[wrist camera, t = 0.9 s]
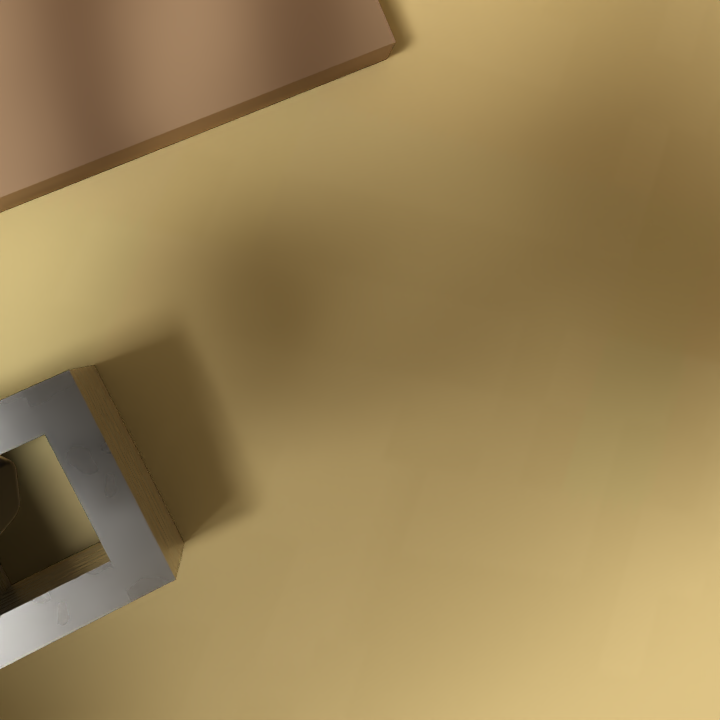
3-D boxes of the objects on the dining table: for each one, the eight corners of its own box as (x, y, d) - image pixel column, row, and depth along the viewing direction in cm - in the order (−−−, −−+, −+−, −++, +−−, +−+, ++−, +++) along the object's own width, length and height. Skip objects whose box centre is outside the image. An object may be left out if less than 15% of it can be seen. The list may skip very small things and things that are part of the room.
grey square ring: (-10, 641, 19) (-55, 697, 16) (-111, 456, 18) (-178, 479, 15) (184, 543, 20) (175, 579, 17) (94, 365, 19) (68, 369, 16)
